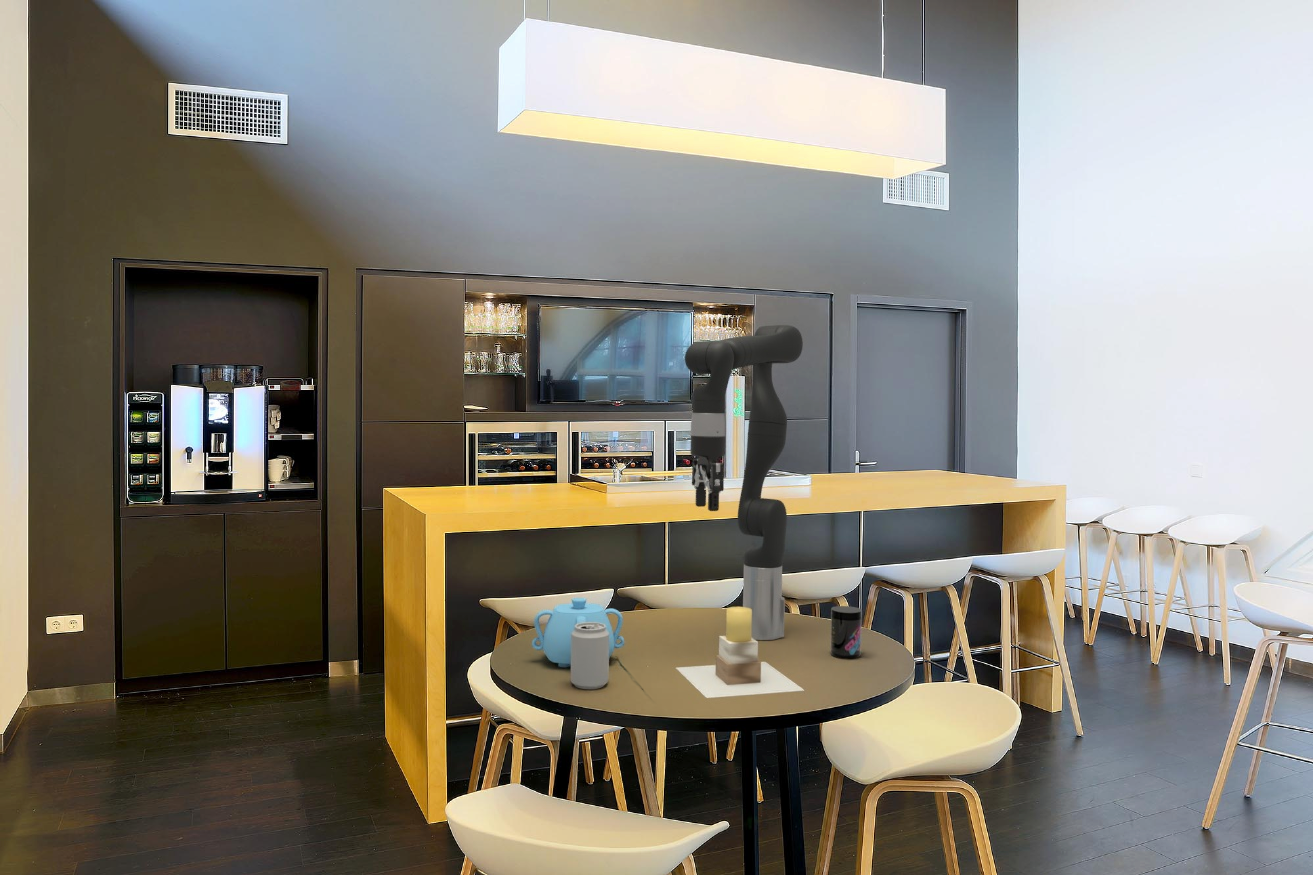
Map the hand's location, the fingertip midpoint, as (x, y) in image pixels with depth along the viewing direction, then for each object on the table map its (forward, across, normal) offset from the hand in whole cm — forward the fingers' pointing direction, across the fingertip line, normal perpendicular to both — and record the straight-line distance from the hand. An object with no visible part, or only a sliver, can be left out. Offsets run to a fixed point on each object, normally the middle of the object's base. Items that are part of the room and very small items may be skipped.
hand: (706, 508), depth 202 cm
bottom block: (+32, -18, -1) cm, 37 cm away
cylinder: (+24, -18, -1) cm, 30 cm away
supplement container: (+33, -4, -32) cm, 46 cm away
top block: (+28, -18, -1) cm, 33 cm away
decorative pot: (+33, +5, +27) cm, 43 cm away
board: (+33, -18, -1) cm, 38 cm away
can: (+33, -12, +28) cm, 45 cm away
